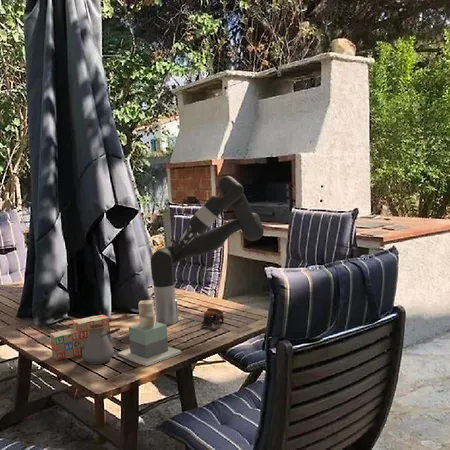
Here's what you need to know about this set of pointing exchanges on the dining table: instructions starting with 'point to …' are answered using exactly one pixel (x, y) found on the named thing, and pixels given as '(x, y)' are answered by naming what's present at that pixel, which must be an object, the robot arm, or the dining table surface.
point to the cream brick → (146, 314)
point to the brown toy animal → (209, 319)
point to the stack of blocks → (75, 337)
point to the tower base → (148, 345)
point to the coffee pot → (98, 345)
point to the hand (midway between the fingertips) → (174, 250)
